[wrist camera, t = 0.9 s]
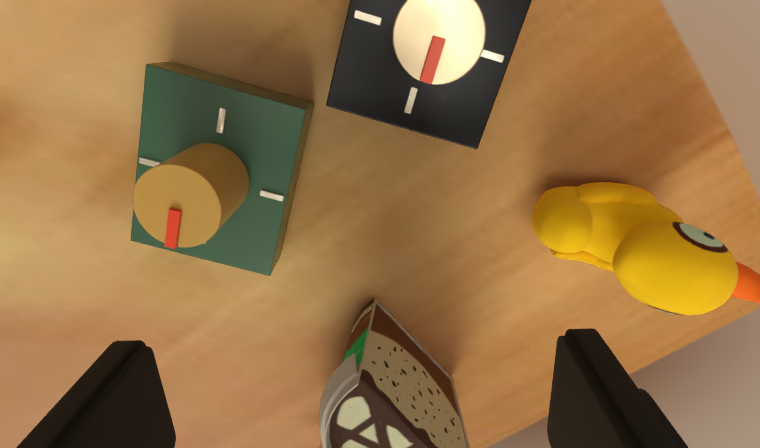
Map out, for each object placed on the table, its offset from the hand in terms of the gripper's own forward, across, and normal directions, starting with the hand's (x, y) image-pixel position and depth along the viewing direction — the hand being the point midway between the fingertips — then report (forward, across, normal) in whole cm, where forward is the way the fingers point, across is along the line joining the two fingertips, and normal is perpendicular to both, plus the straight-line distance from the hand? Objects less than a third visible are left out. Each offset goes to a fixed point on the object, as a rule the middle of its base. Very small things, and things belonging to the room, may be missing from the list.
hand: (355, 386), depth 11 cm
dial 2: (+18, -3, -7) cm, 20 cm away
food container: (+21, 0, +16) cm, 26 cm away
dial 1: (+18, +10, 0) cm, 20 cm away
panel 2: (+21, -3, -7) cm, 22 cm away
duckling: (+21, -15, +4) cm, 26 cm away
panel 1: (+21, +10, 0) cm, 23 cm away
